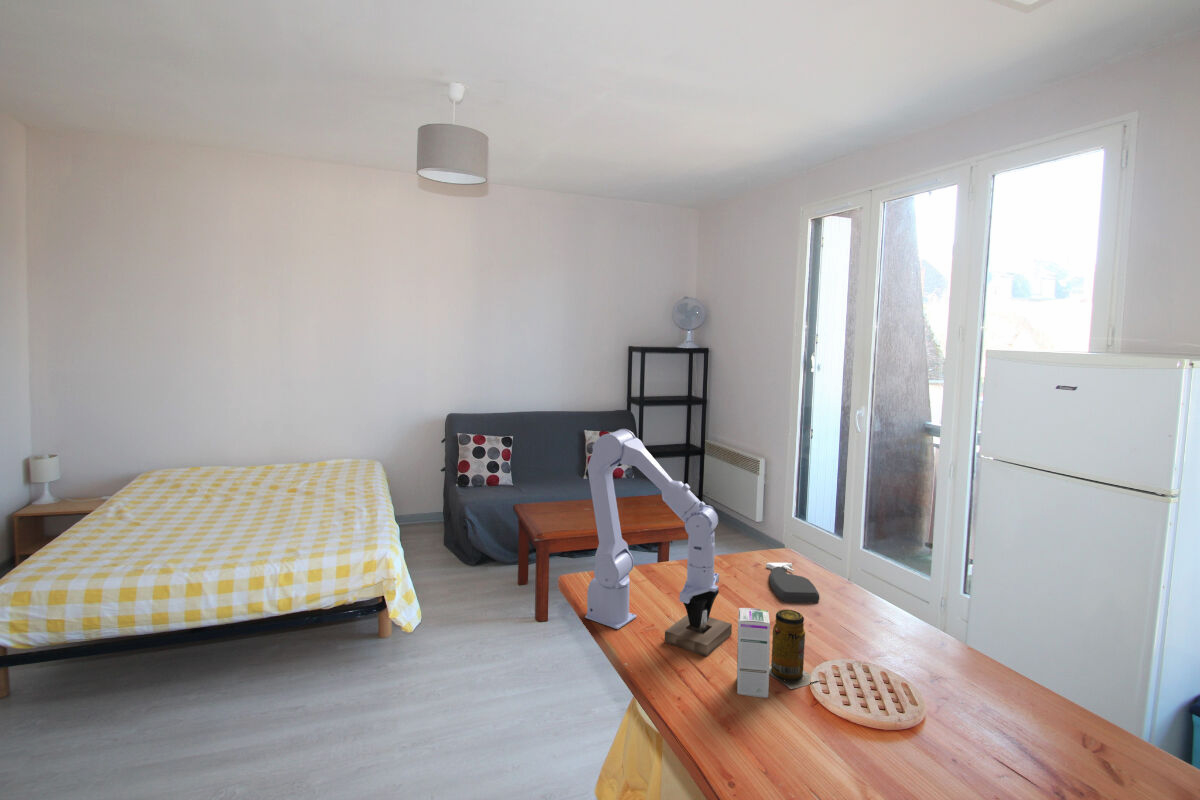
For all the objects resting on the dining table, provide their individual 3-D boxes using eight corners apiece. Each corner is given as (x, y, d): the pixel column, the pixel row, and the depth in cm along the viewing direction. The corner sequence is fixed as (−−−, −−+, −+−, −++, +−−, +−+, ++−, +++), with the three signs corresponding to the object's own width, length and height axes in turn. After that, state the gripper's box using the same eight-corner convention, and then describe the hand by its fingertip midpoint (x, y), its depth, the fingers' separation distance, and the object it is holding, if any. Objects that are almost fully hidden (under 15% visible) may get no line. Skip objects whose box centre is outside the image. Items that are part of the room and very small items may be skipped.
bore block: (664, 641, 134) (664, 630, 133) (691, 621, 143) (691, 611, 143) (706, 656, 128) (706, 645, 128) (731, 634, 137) (731, 623, 137)
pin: (688, 635, 135) (689, 609, 134) (696, 630, 138) (696, 604, 137) (702, 640, 133) (702, 613, 133) (708, 634, 136) (709, 608, 135)
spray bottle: (778, 603, 154) (757, 568, 179) (823, 605, 154) (795, 569, 178) (779, 592, 154) (758, 558, 178) (823, 593, 154) (796, 559, 178)
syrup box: (768, 698, 113) (772, 623, 112) (735, 694, 115) (738, 619, 113) (766, 681, 119) (770, 609, 117) (735, 678, 120) (738, 606, 119)
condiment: (788, 660, 127) (791, 604, 126) (819, 681, 119) (822, 622, 118) (760, 668, 124) (762, 611, 122) (790, 690, 116) (793, 629, 115)
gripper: (701, 578, 126) (699, 641, 127) (732, 557, 137) (730, 616, 139) (671, 569, 130) (669, 631, 131) (703, 550, 141) (701, 608, 143)
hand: (698, 623), depth 135 cm, fingers closed on pin, 3 cm apart
